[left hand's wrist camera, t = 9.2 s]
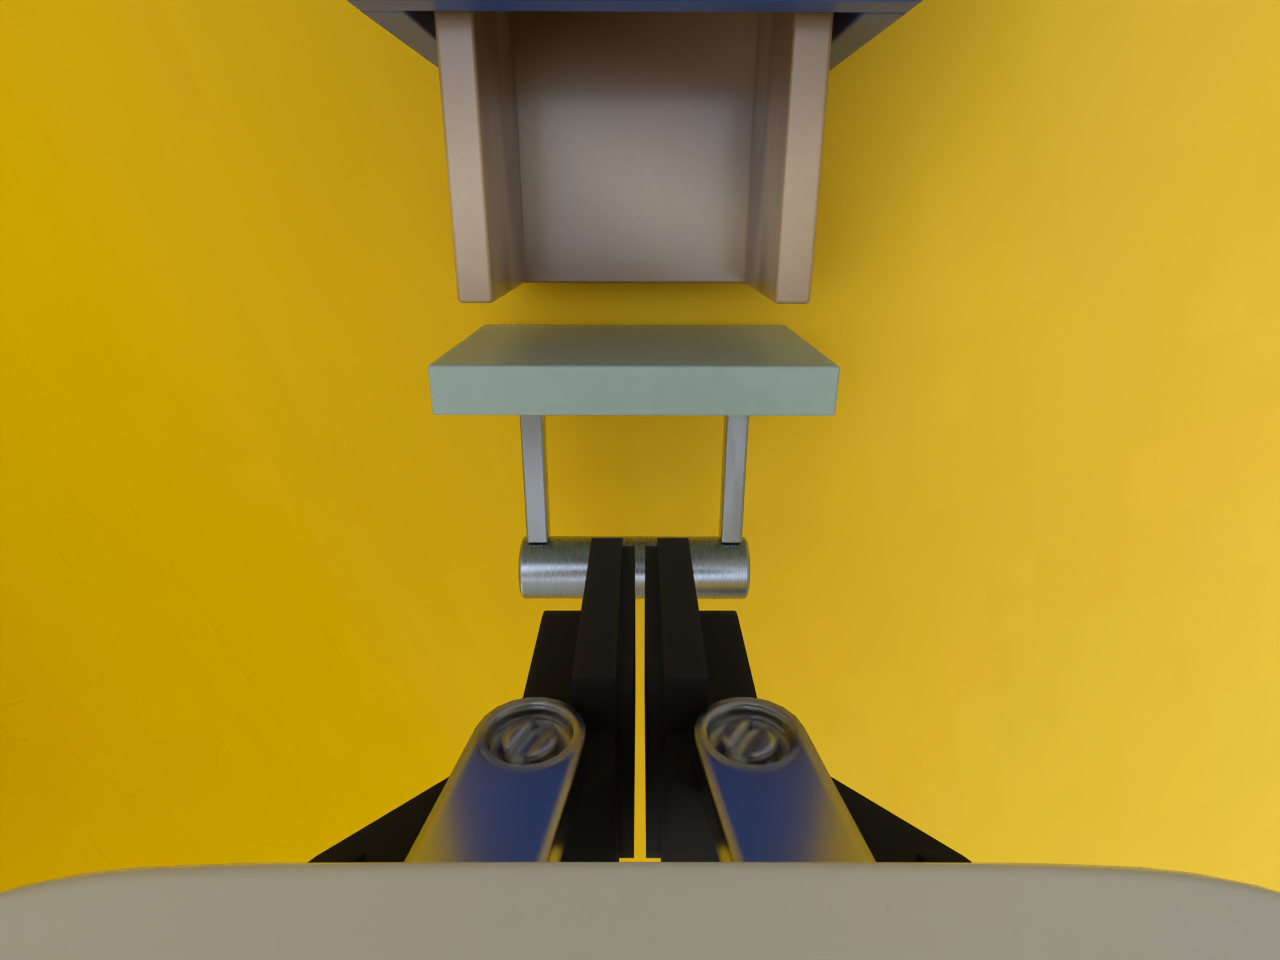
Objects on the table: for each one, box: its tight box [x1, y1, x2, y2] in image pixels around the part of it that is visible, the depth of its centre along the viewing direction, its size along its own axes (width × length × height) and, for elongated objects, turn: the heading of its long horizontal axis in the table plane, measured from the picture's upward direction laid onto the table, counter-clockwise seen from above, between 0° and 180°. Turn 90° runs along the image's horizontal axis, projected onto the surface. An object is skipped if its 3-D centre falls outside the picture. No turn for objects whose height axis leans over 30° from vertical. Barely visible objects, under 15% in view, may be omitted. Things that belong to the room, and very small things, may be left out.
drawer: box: [428, 11, 839, 599], centre depth 19 cm, size 19×10×6 cm, turn 0°
